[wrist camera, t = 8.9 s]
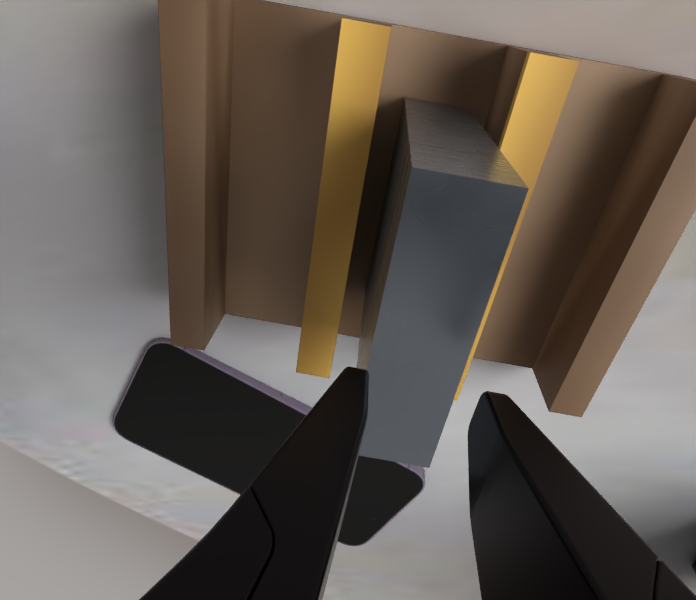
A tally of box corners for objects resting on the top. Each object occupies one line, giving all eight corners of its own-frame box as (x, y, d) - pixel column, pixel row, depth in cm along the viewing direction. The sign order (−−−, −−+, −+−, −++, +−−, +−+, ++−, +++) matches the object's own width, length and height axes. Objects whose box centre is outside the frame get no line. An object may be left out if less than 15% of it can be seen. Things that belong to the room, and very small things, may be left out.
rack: (686, 77, 15) (766, 95, 12) (554, 358, 21) (584, 423, 17) (205, -11, 15) (152, -17, 12) (203, 295, 21) (167, 349, 17)
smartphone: (153, 331, 22) (435, 480, 24) (164, 318, 22) (434, 462, 25) (106, 431, 25) (357, 552, 27) (117, 416, 26) (359, 534, 28)
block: (468, 108, 15) (528, 188, 8) (416, 300, 19) (429, 467, 12) (404, 96, 15) (411, 167, 8) (365, 291, 19) (347, 453, 12)
